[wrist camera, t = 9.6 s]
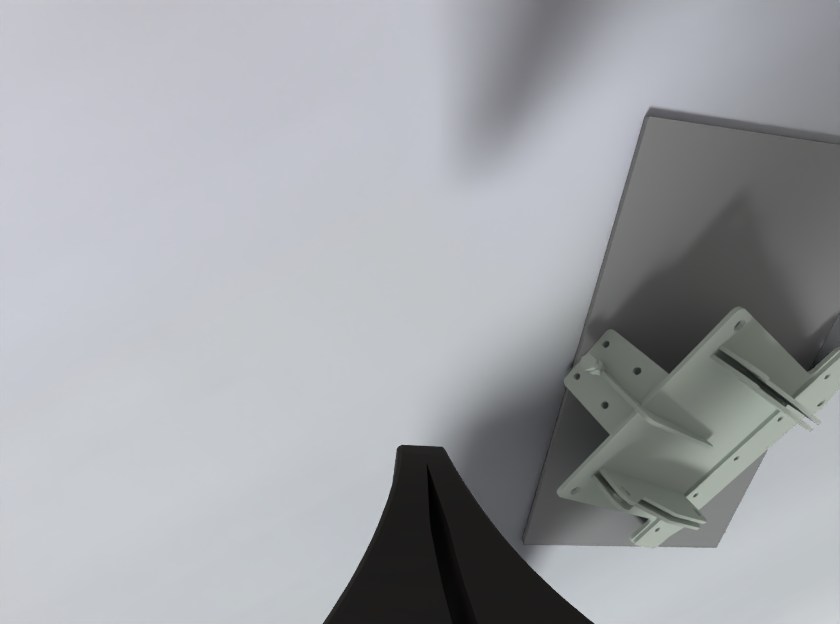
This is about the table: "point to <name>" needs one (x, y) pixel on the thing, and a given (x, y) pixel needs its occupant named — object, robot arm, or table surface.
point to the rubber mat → (700, 288)
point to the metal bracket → (688, 420)
